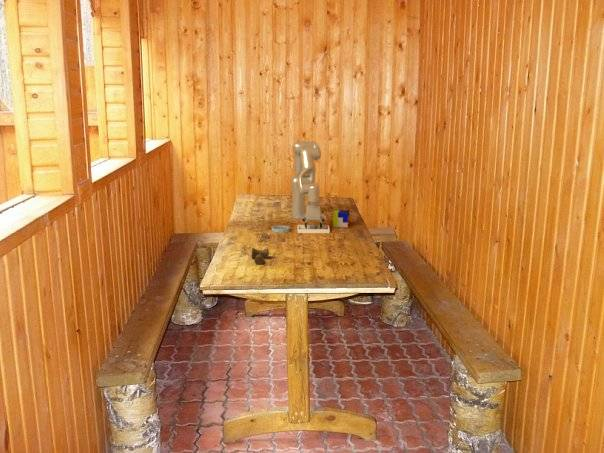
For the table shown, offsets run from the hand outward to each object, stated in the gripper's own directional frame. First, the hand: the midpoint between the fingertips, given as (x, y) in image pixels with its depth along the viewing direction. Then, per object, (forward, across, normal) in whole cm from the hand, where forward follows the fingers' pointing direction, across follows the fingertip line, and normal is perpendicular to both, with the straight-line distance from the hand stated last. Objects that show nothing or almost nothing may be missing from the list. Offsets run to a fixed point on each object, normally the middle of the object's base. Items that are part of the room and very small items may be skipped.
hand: (313, 228), depth 398 cm
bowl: (+2, +22, 0) cm, 22 cm away
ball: (+2, 0, 0) cm, 2 cm away
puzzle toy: (+2, -20, -17) cm, 26 cm away
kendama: (+2, +32, +70) cm, 77 cm away
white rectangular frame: (+2, 0, 0) cm, 2 cm away
